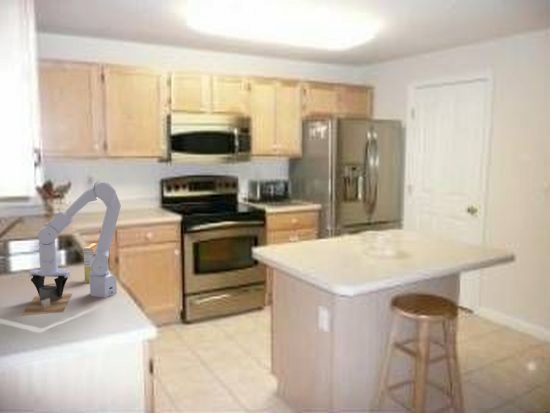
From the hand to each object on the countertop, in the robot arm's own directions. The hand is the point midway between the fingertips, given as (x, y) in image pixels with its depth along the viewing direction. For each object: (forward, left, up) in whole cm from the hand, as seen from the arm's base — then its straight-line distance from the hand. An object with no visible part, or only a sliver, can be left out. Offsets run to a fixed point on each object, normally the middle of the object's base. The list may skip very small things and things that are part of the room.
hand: (50, 295), depth 172 cm
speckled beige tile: (-6, +7, -1) cm, 9 cm away
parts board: (-3, +3, -3) cm, 5 cm away
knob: (0, 0, -1) cm, 1 cm away
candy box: (+7, -27, -3) cm, 28 cm away
